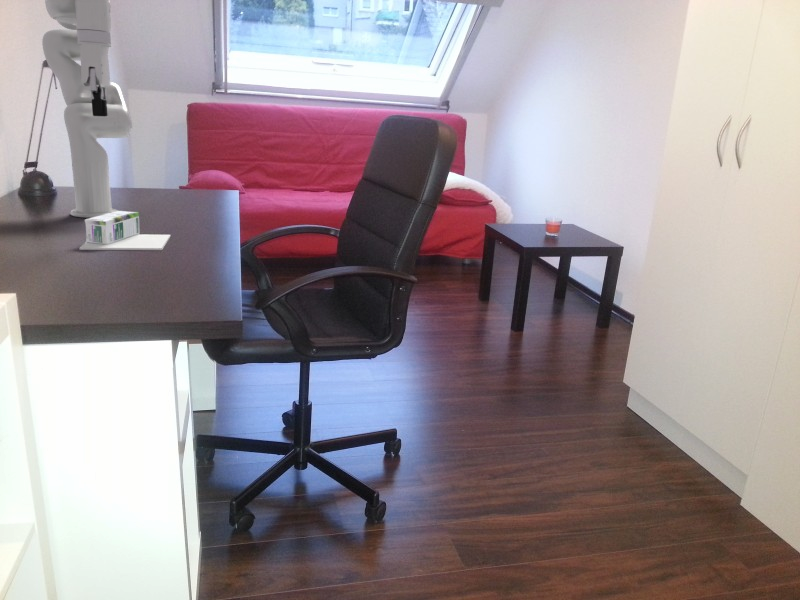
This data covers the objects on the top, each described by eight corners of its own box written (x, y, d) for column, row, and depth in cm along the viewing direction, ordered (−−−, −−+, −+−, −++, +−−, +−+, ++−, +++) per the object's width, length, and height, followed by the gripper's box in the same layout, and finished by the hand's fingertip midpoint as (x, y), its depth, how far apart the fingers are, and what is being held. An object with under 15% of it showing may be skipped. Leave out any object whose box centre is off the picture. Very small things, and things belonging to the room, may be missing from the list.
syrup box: (140, 234, 166) (108, 245, 153) (119, 232, 167) (85, 242, 153) (139, 212, 165) (106, 221, 151) (117, 210, 166) (83, 219, 152)
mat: (95, 235, 164) (95, 233, 164) (170, 236, 168) (170, 234, 167) (79, 249, 149) (79, 247, 149) (161, 250, 153) (161, 248, 152)
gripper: (85, 40, 166) (91, 114, 171) (69, 35, 152) (76, 116, 157) (116, 42, 168) (121, 116, 173) (103, 38, 154) (109, 117, 159)
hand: (100, 115), depth 165 cm, fingers closed
